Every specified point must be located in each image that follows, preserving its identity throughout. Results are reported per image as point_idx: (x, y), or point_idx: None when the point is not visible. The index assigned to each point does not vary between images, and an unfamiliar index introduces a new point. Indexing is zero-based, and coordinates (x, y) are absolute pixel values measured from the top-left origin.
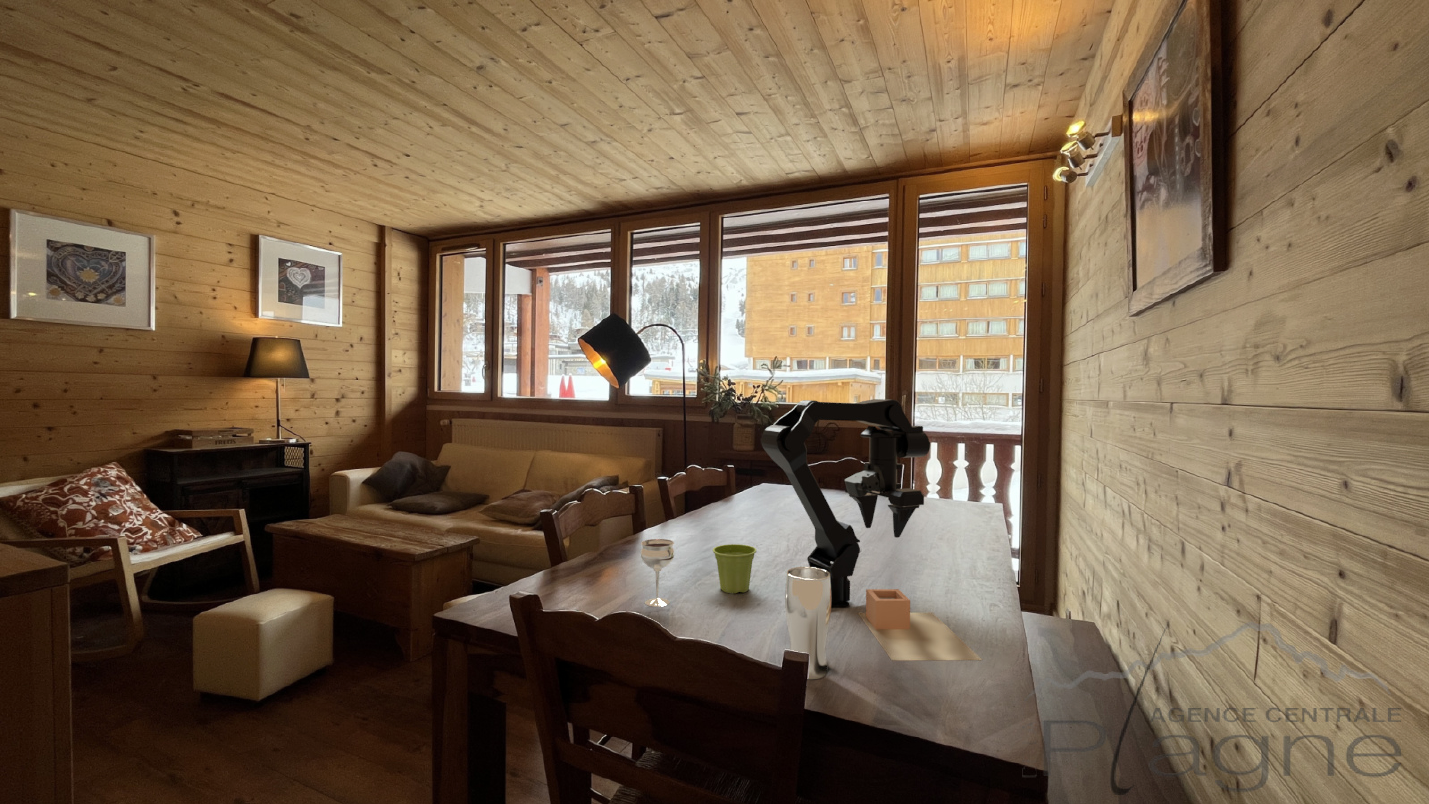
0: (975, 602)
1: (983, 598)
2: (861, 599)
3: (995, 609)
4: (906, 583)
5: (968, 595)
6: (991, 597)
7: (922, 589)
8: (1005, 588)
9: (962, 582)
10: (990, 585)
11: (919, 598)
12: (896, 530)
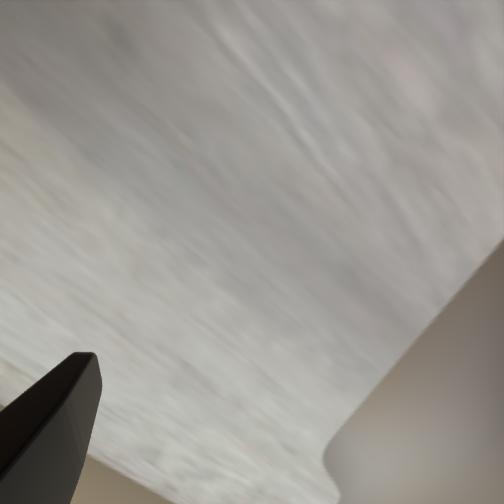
0: None
1: (107, 412)
2: (259, 23)
3: (14, 380)
4: (323, 328)
5: (143, 399)
6: (109, 432)
7: (247, 330)
8: (159, 494)
9: (245, 453)
10: (193, 484)
11: (172, 262)
12: (10, 408)
